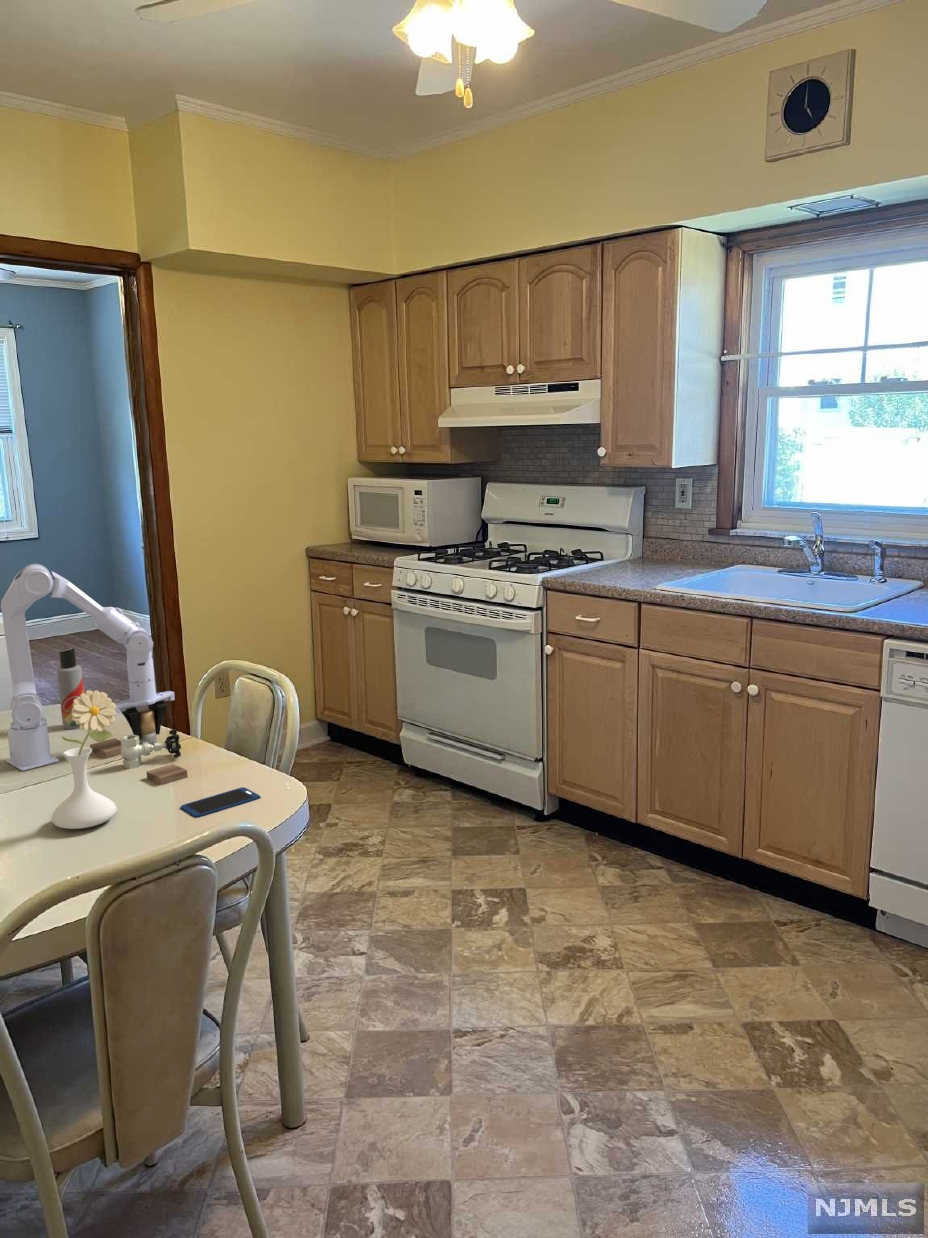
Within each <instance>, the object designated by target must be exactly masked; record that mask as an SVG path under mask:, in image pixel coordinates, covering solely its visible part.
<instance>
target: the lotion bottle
mask: <svg viewBox="0 0 928 1238" xmlns="http://www.w3.org/2000/svg"><path fill="white" fill-rule="evenodd" d="M76 653H77V652H76V650H75V648H74V647H68V648H63V649H62V650H60V651H58V656H59V666H60V667H58V668H56V676H57V677H56V679H57V686H58V694H59V703H60V714H61V720H62V721H61V722H62V727H63V728H64V729H65V730H76V729H77V730H78V729H80V725H77V724H76V723H75V722H76V721H74V720H72V709H73V703H74V702H73V701H74V700H75V699H76V698H78V697H79V698H80V695H81V694H83V693H85V688H84V679H83V671H82V667H81V665H78V663H77V655H76Z"/></svg>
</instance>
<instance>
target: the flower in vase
mask: <svg viewBox="0 0 928 1238" xmlns="http://www.w3.org/2000/svg"><path fill="white" fill-rule="evenodd" d="M73 702H74V703H73V709H72V720H74V721H76V722H75V723H76V724H77V725H80V728H79V729H80V730H83V731H87V733H86V736H85V737H84V739H83V742H81V741H80V740H78V739H71V738H70V739H69V738H67V737H65V736H61V739H62V740H63V741H66V742H70V743H74V744H75V743H76V744H80V745H81V746H80V747H73V748H70V749H67V750H65V751H64V752H63V753H62V756H63V757H64V758H65V759H66V760H67V761H68V762H69V766H70V767H71V770H72V775H73V782H74V783H73V784H74V785H73V791H72V792H71V794H70V795H69V796H68V797H66V799H64V800H63V801H62V802H61V804H59V805H58V806H56V808H55V810H54V811H52V814H51V823H52V824H53V825H54V826H56V827H58V828H61V829H65V830H67V829H69V830H81V829H88V828H91V827H95V826H98V825H101V824H103V823H105V822H107V821H109V820H110V819H112V818H113V817H115V815H116V813H117V811H118V807H117V805H116V803H115V802H114V801H113V800H112V799H110V798H108V797H106V796H105V795H103V794H100V793H98V792H96V791H94V789H92V788H91V787H90V785H89V782H88V776H87V775H88V773H87V765H88V760H89V758H90V755H91V753H93V752H92V749H91V748H90V747H84V746H85V744H86V742H87V740H88V739H89V736H90V738H91V739H93V740H94V741H96V743H98V742H102V741H106V740H109V739H111V738H112V737H114V734H113V733H112V732H110V730H107V729H106V727H110V726H111V725H112V724H113V723H114V722H115V721H116V720H115V716H116V715H117V714H116V712H115V709H116V706H115V703H116V702H113V701H112V699H111V698H110V697H108V693H106V692H103V691H101V692H99V691H98V690H94V691H92V690H90V689H87V690H86V691H85V692H84V693H83V694H81V695H80V698H79V697H78V698H76V699H75V700H74V701H73Z"/></svg>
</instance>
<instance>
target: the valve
mask: <svg viewBox="0 0 928 1238" xmlns="http://www.w3.org/2000/svg"><path fill="white" fill-rule="evenodd" d="M168 734H169V736H167V737H166V738H165V740H164V742H163V743H162V742H160V741H159V742H158V741H157V743H154V745H151V744H148V742H144V743H142V744H141V745H139V743H140V742H139V736H137V735H133V734H127V735H124V736H122V737H121V738H120V741H121V746H122V749H121V755H120V756H121V758H122V759H123V760H122V763H123V768H125V769H130V770H131V769H135V768H136V769H137V768H139V767H141V765H142V764H143V763H142V756H145V757H147V756H150V755H151V753H153V751H154V752H159V751H162V750H163V749H164V748H165V750H166V751H167V752H168V753H169V754H171V755H172V757H173V758H174V759H176V758H179V757H181V756H182V755H181V751H180V750H181V749H182V746H181V744H180V742H179V740H180V735H179V734H178V733H177V729H176V728H173V729H170V730H169V731H168Z"/></svg>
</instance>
